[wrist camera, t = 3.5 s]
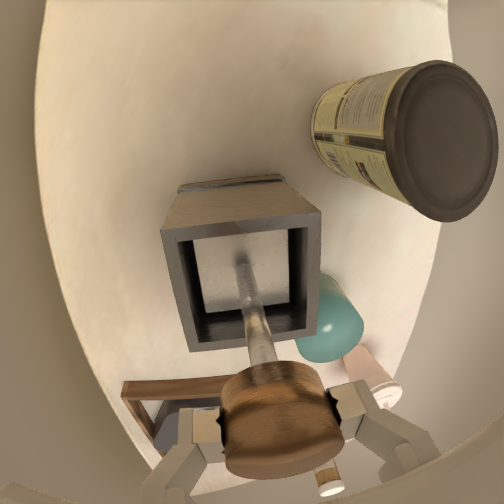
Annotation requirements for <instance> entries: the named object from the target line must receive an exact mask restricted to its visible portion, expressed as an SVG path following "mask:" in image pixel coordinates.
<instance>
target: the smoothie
mask: <svg viewBox="0 0 504 504" xmlns="http://www.w3.org/2000/svg"><path fill="white" fill-rule="evenodd" d="M343 362H344V365H345V368H346V371H347V374H348V377H349V381H350V382H354V381H357V380H361V379H363V380H365V381H366V383H367V385H368V387H369V389H370V390H371V392H372V394H373V396H374V398H375V400H376V402H377V403H378V405H379V407H380V409H382V408H385V409H386V410H388V411H390V412H392V411H391V409H390V408H391V407H392V406H393V405H394V404H395V403H396V402H397V401H398V400H399V399H400V397H401V395H402V388H401V387H400V384H399V383H398V382H396V381H394V380H393V379H392V378H391V377H390V375H389V374H388V373H387V372H386V371H385V370H384V369H383V367H382V366H381V365H380V364H379V363H378V362H377V360H376V359H375V358H374V357H373V356H372V355H371V354H370V352H369V351H368V350H367V349H366V348H365V347H364V346H363V345H356V346H355V347H354V348H353V349H352V350H351V351H350V352H349V353H347V354H346V355H344V356H343Z"/></svg>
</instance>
